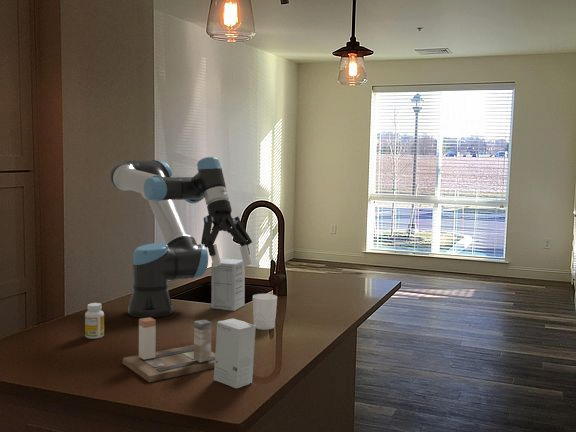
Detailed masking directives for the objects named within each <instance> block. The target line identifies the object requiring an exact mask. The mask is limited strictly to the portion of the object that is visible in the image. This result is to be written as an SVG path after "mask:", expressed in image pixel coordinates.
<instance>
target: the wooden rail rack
mask: <svg viewBox="0 0 576 432" xmlns="http://www.w3.org/2000/svg"><path fill="white" fill-rule="evenodd" d="M122 364H123V365H124V366H126V367H127V368H128V369H130V370H131V371H133V372H134V373H135V374H137V375H138V376H140V377H141V378H142V379H144V380H145V381H147V382H148V383H151V382H152V383H153V382H157V381H161V380H165V379H171V378H176V377H179V376H183V375H188V374H195V373H198V372H202V371H206V370H212V369H214V366H215V352H214V351H212V321H209V320H207V319H201V320H200V319H199V320H195V321H193V344H189V345H184V346H178V347H173V348H168V349H163V350H157V351H156V352H155V358H150V359H145V360H144V359H142V358H141V357H139V354H137V355H132V356H125V357H123V358H122Z"/></svg>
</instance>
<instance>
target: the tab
mask: <svg viewBox="0 0 576 432" xmlns="http://www.w3.org/2000/svg"><path fill="white" fill-rule="evenodd" d="M156 322H157V321H156V318H155V319H154V318H151V317H149V318H138V355H139V357H141V358H142V359H144V360H145V359H150V358H155V352H157V351H156V349H157V348H156V347H157V346H156V343H157V342H156V341H157V340H156V339H157V338H156V333H157V331H156V329H157V325H156V324H157V323H156Z"/></svg>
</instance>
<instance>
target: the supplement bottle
mask: <svg viewBox="0 0 576 432" xmlns="http://www.w3.org/2000/svg"><path fill="white" fill-rule="evenodd" d="M84 326H85V327H84V337H85V338H87V339H94V340H95V339H100V338H102V337H104V336H105V313H104V311H103V310H102V303H99V302H91V303H89V304H87V311H85V313H84Z"/></svg>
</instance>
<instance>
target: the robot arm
mask: <svg viewBox="0 0 576 432" xmlns="http://www.w3.org/2000/svg"><path fill="white" fill-rule="evenodd" d="M196 167H197V169H196V170H197V171H198V172H197V173H196V174H195V175H194V176H191V177H190V176H177V177H176V176H175V177H173V172H172V171H173V170H172V169H171V167H170V166H169V164H168V163H167V162H165V161H162V160H157V159H153V160H152V159H151V160H140V159H139V160H135V159H131V160H130V159H128V160H122V161H118V162H117V163H116V164H114V165H113V166H112V167H111V169H110V170H109V173H108V175H109V182H110V184H111V186H113V187H114V188H115V189H117V190H120V191H125V192H127V191H129V192H130V191H133V192H136V193H139V194H141V196H142V198H143V199H144V200H147V202H148V203H149V206H150V208H151V211H152V212H153V216H154V219H155V220H156V223H157V225H158V228H159V230H160V232H161V233H160V234H161V235H162V237H163V240H164V243H163V242H158V243H157V242H156V243H149V244H143V245H140V246H138V247H136V248H135V250H134V251H133V257H132V282H133V283H132V285H133V287H132V288H133V289H132V292H131V293H132V294H131V297H130V299H129V304H128V306H127V315H129V316H131V317H134V318H140V319H142V318H149V317H151V318H153V319H154V318H155V319H156V318H162V317H167V316H169V315H171V314H173V312H174V306H173V303H172V299H171V297H170V293H169V292H170V291H169V281H178V280H185V279H195V278H200V277H202V276H203V275H205V273H206V271H207V270H208V267H209V256H210V257H211V264H212V263H213V267H217V266H219V265H221V262H220V259H221V257H220V254H219V249H218V245H217V244H216V243H215V241H216V240H217V237H218V235H219V233H220V232H222V231H223V232H226V233H228V234H230V235H231V236H232V238H234V240H235V241H236V242H237V243H238V245H239V246H241V247H239V249H240V254H241V260H243V263H244V267H245V268H246V267H248V266H250V265H252V259H251V252H250V248H249V245H251V244H252V243H253V241H252V238H251V237H250V235H249V234H248V233H247V231H246V229H245V227H244V226H243V224H242V223H241V220H240V217H239V216H236V217H232V214H231V213H232V211H233V209H232V206H231V202H230V200H229V195H228V194H229V193H228V190H227V186H226V185H227V184H226V182H225V177H224V173H223V168H222V166H221V162H220V159H219V158H218V157H216V156H208V157H207V156H206V157H203V158H201V159H200V160H198V162H197V163H196ZM175 200H176V201H177V200H178V201H179V200H183V201H186V203H187V202H188V203H189V204H197V203H199V202H200V201H202V200H205V201H204V202H205V205H206V208H207V209H206V210H207V212H208V215H206V216H204V217H203V229H202V235H201V242H200V244H198V243H197V241H196V238H195V237H194V236H192V235H189V233H188V232H187V231H188V230H187V229H186V227H185V224H184V222H183V220H182V218H181V214H180V213H179V211H178V208H177V206H176V204H175V202H174V201H175Z"/></svg>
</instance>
